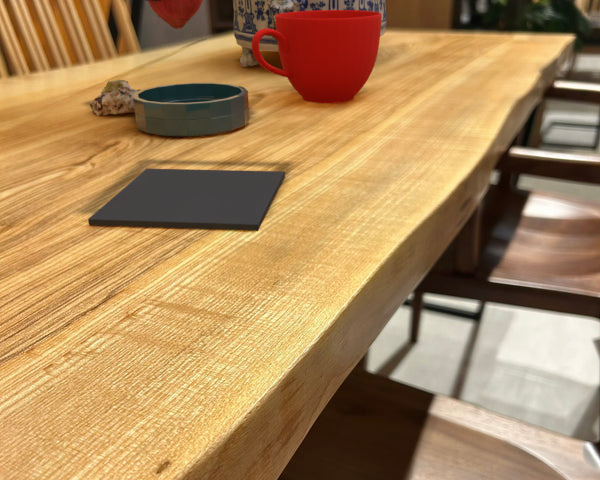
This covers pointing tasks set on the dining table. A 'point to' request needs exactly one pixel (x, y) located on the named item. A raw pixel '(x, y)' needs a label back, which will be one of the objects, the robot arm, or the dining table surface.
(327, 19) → the ceramic cup
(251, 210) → the mat
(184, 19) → the onion
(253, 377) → the dining table surface
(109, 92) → the mineral rock
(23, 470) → the dining table surface
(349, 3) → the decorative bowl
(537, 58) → the dining table surface
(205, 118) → the teal bowl
